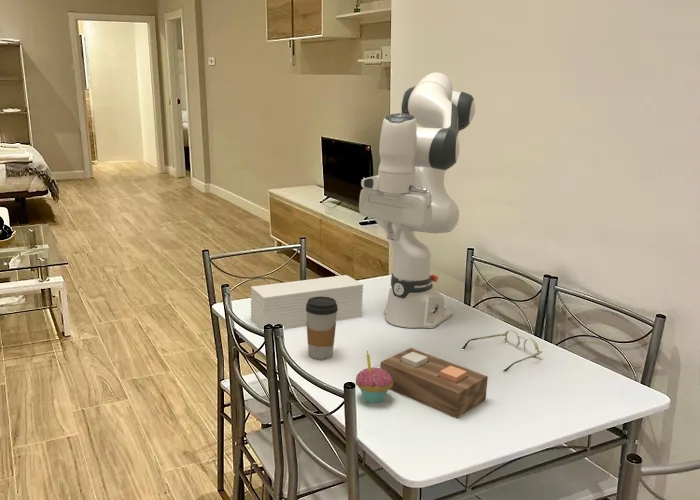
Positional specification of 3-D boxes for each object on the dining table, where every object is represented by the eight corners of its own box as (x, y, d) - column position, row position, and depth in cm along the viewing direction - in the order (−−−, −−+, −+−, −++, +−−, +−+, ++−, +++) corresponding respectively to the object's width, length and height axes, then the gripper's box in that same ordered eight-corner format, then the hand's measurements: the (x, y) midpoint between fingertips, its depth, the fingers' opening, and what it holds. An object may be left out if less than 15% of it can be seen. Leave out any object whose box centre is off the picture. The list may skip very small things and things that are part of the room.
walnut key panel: (409, 369, 164) (411, 347, 163) (485, 400, 150) (487, 376, 148) (379, 384, 156) (380, 361, 154) (456, 418, 141) (458, 393, 140)
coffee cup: (332, 363, 167) (334, 308, 163) (300, 359, 168) (301, 304, 164) (339, 350, 174) (341, 297, 171) (309, 346, 176) (310, 294, 172)
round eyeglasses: (545, 363, 172) (547, 345, 171) (503, 374, 164) (505, 356, 163) (499, 340, 186) (501, 324, 185) (459, 350, 178) (460, 333, 177)
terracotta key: (449, 381, 151) (450, 365, 150) (465, 387, 149) (466, 371, 148) (438, 387, 148) (439, 371, 147) (454, 393, 145) (456, 377, 144)
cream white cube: (411, 366, 159) (412, 351, 158) (426, 372, 156) (427, 357, 155) (400, 372, 155) (401, 356, 154) (415, 378, 153) (416, 362, 152)
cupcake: (361, 409, 144) (363, 359, 141) (350, 391, 152) (352, 344, 149) (397, 405, 146) (400, 355, 143) (385, 388, 154) (387, 341, 151)
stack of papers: (345, 306, 209) (346, 274, 206) (361, 317, 200) (363, 284, 197) (251, 320, 194) (250, 286, 191) (263, 333, 185) (263, 297, 182)
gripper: (439, 188, 150) (435, 245, 154) (372, 177, 163) (370, 230, 167) (423, 190, 146) (419, 250, 149) (356, 179, 159) (354, 234, 162)
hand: (393, 239), depth 158 cm, fingers closed
